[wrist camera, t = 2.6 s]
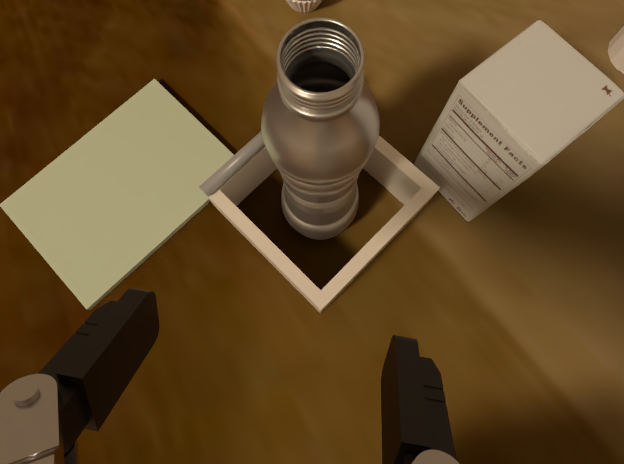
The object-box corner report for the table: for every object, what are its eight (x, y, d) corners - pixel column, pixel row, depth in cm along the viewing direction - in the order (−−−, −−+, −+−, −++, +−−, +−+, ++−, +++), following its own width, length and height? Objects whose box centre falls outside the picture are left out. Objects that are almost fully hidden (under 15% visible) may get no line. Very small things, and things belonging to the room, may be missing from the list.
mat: (157, 82, 39) (154, 78, 38) (246, 168, 36) (245, 165, 36) (4, 206, 36) (-1, 204, 35) (90, 309, 33) (86, 309, 33)
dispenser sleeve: (319, 116, 37) (319, 76, 31) (423, 207, 35) (444, 182, 29) (217, 209, 35) (197, 184, 29) (320, 313, 33) (321, 309, 27)
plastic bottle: (281, 244, 34) (231, 129, 15) (286, 171, 36) (247, -16, 17) (355, 247, 34) (402, 135, 15) (356, 174, 36) (401, -12, 16)
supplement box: (468, 119, 37) (542, 13, 25) (526, 176, 35) (635, 94, 23) (409, 164, 36) (456, 77, 24) (465, 225, 34) (546, 166, 22)
